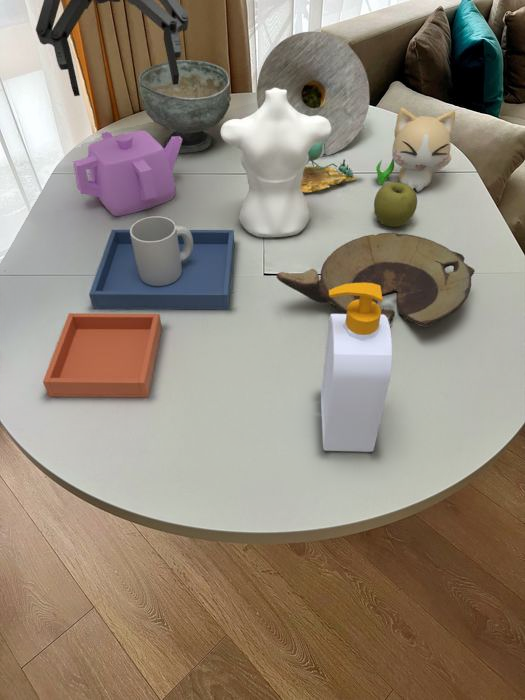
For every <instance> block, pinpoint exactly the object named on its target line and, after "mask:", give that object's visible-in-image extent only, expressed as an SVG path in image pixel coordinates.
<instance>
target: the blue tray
mask: <svg viewBox="0 0 525 700" xmlns="http://www.w3.org/2000/svg"><path fill="white" fill-rule="evenodd" d="M188 230H189V231H190V232H191V234H192V237H193V251H192V253H191V255H190V257H189V258H188V259H187V260H185V261H183V262H181V267H182V273H181V276H180V277H179V278H178V280H177V281H175V282H174V283H172V284H170V285H167V286H161V287H156V286H150V285H148V284H146V283H144V282H143V281H142V280H141V279H140V276H139V273H138V268H137V264H136V259H135V254H134V249H133V245H132V240H131V235H130V229H111V231H110V234H109V238H108V240H107V243H106V245H105V249H104V251H103V254H102V257H101V260H100V263H99V265H98V268H97V270H96V274H95V276H94V280H93V282H92V285H91V288H90V290H89V293H88V295H89V297H90V299H89V300H90V301H91V305H92V309H93V310H94V309H95V310H230V300H231V290H232V278H233V268H234V267H233V266H234V257H235V254H234V253H235V245H236V244H235V230H234V229H188ZM177 237H178V244H179V251H180V252H181V251H182V250H183V248H184V240H183V238H182V236H177Z"/></svg>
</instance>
